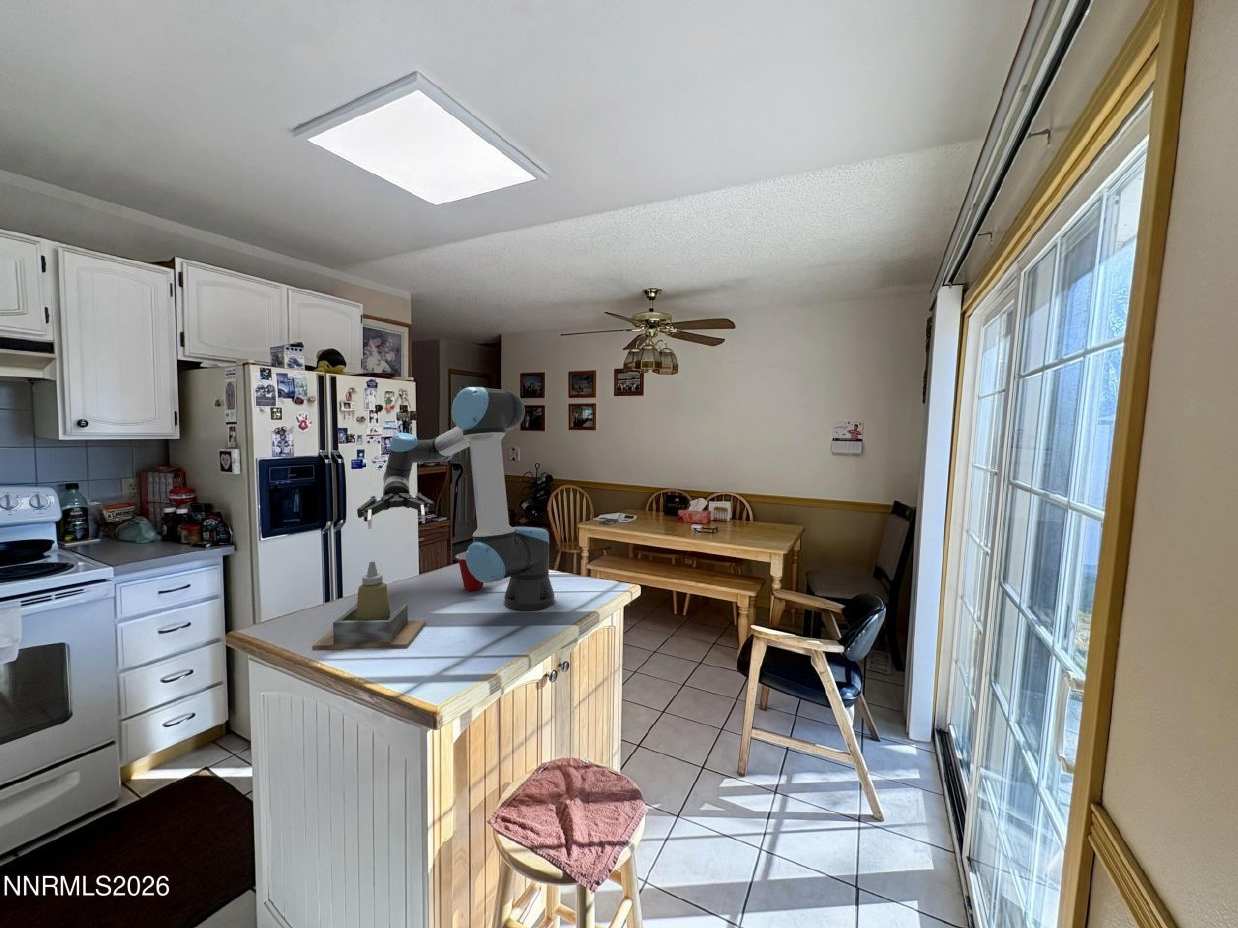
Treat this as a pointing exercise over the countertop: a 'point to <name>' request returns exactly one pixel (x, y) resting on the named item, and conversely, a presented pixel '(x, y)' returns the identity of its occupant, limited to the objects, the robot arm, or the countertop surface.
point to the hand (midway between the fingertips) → (396, 521)
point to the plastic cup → (468, 575)
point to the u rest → (371, 632)
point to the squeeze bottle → (372, 597)
